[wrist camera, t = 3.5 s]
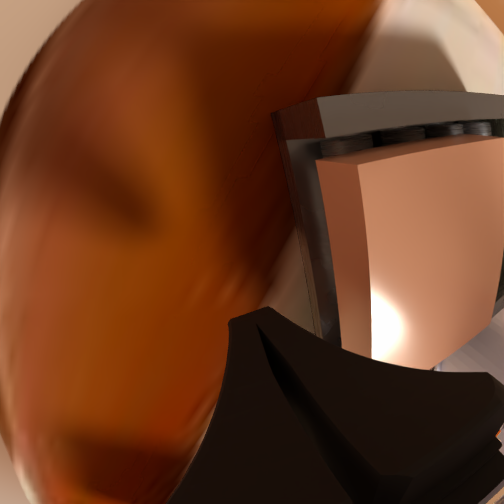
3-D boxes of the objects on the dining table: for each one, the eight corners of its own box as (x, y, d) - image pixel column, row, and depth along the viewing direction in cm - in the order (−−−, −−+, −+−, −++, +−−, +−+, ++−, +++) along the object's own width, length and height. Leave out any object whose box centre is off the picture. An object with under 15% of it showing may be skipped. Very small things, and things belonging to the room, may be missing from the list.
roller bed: (470, 97, 13) (526, 98, 9) (475, 275, 18) (519, 299, 14) (270, 113, 11) (322, 95, 7) (319, 359, 16) (358, 413, 12)
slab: (463, 133, 10) (504, 137, 8) (460, 304, 14) (490, 323, 11) (315, 160, 9) (356, 164, 7) (343, 370, 13) (369, 404, 10)
